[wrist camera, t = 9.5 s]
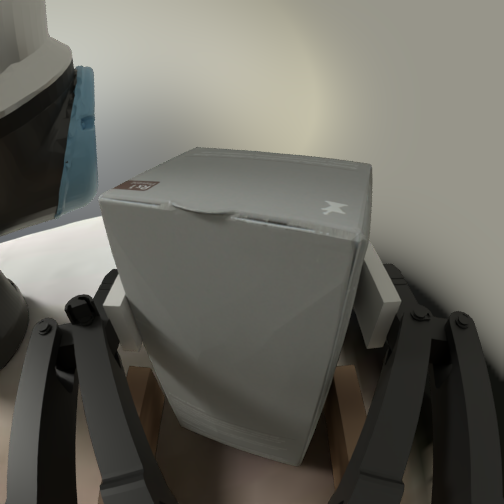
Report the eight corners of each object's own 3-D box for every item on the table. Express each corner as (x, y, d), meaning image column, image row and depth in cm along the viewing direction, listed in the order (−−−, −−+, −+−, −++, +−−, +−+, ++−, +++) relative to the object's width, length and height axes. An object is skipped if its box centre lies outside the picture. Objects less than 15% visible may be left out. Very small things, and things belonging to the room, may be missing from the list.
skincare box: (324, 392, 20) (385, 161, 11) (293, 481, 14) (391, 232, 6) (215, 359, 22) (203, 137, 14) (166, 431, 16) (88, 180, 8)
